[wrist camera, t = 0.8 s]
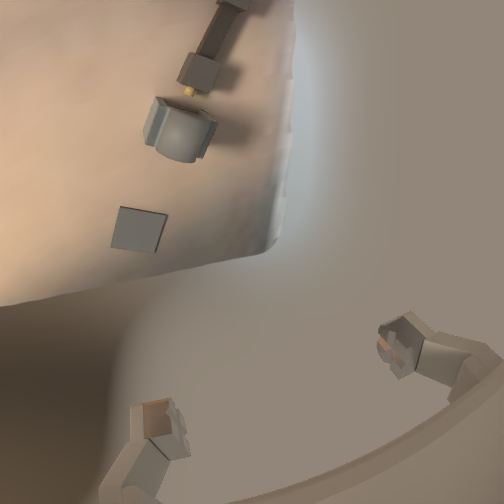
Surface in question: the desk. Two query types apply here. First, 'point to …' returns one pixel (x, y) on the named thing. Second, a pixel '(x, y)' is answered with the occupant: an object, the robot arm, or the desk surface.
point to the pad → (137, 230)
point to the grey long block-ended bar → (209, 49)
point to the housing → (178, 132)
